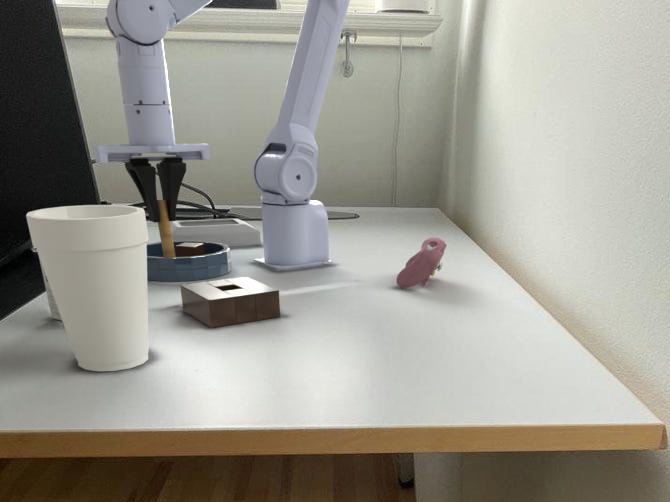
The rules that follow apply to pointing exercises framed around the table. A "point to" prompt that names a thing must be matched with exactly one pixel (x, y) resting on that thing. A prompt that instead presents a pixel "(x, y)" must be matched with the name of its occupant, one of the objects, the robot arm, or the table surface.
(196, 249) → the walnut block
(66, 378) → the table surface
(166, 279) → the bowl
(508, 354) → the table surface
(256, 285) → the stick stand
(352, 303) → the table surface
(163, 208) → the stirring stick
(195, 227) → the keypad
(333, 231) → the table surface
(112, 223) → the foam cup
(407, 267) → the pink rounded piece
